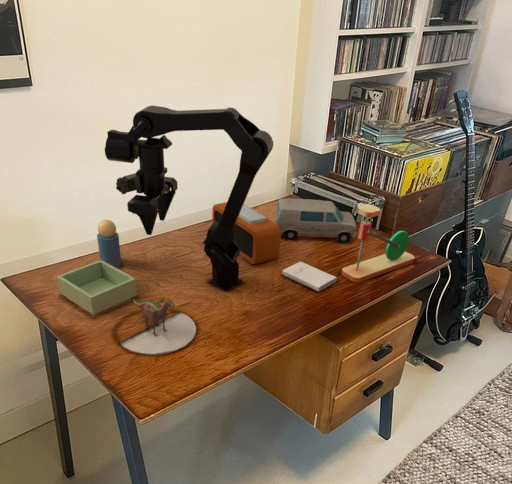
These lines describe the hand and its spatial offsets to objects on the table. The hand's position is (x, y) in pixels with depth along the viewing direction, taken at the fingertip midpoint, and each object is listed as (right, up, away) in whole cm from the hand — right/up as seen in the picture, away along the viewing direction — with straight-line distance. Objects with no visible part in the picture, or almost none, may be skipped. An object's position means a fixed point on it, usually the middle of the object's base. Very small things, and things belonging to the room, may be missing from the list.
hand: (155, 227), depth 132 cm
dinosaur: (+3, -26, -14) cm, 30 cm away
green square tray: (-13, -18, -4) cm, 23 cm away
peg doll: (-14, -8, +9) cm, 19 cm away
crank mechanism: (+60, -8, +17) cm, 63 cm away
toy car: (+43, +5, +33) cm, 55 cm away
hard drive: (+40, -12, +10) cm, 42 cm away
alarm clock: (+22, -1, +23) cm, 32 cm away
